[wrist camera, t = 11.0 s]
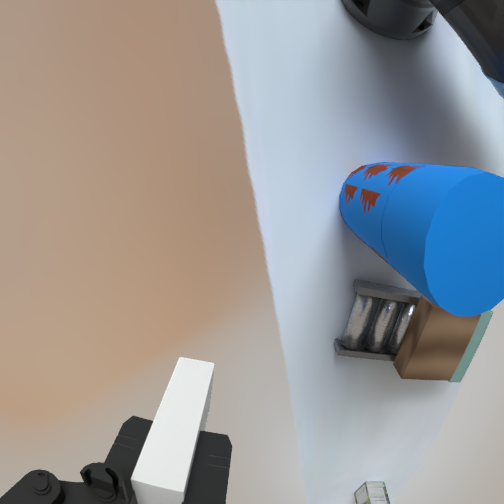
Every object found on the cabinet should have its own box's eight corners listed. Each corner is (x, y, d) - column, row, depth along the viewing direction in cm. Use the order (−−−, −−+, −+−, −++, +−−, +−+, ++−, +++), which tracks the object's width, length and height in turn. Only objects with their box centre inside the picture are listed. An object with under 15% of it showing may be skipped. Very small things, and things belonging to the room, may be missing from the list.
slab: (421, 295, 42) (432, 306, 39) (468, 303, 43) (481, 314, 39) (393, 363, 46) (401, 378, 42) (440, 367, 46) (450, 380, 42)
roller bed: (354, 279, 45) (360, 287, 42) (458, 298, 46) (467, 306, 43) (333, 344, 48) (337, 354, 45) (435, 355, 49) (442, 364, 46)
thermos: (418, 222, 43) (534, 281, 19) (354, 251, 44) (436, 343, 20) (394, 151, 40) (516, 150, 16) (326, 179, 42) (402, 202, 18)
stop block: (460, 293, 45) (482, 310, 39) (471, 295, 45) (493, 312, 39) (432, 359, 49) (449, 382, 42) (443, 360, 49) (460, 382, 42)
